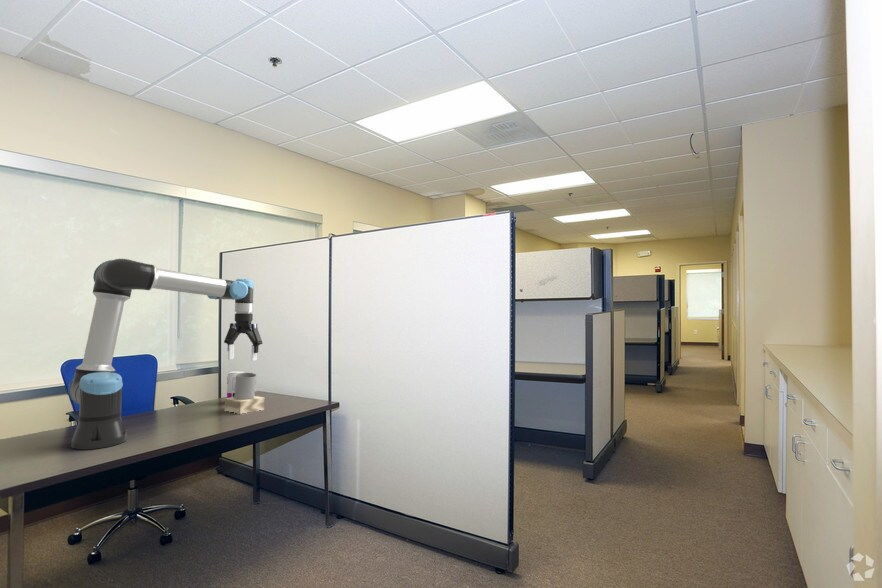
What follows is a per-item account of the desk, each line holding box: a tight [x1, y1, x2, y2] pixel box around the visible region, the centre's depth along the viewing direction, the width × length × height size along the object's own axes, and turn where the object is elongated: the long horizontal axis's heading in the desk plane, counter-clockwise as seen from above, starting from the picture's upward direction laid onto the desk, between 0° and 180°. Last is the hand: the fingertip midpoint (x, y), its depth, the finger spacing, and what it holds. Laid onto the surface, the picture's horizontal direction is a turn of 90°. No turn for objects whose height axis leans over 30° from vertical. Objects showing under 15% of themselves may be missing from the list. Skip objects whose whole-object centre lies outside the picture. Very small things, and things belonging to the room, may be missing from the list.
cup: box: [234, 372, 257, 400], centre depth 205 cm, size 8×8×10 cm
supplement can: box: [226, 370, 246, 398], centre depth 221 cm, size 8×8×15 cm
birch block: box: [224, 395, 266, 415], centre depth 205 cm, size 12×12×6 cm
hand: (242, 359), depth 206 cm, fingers open, 13 cm apart
